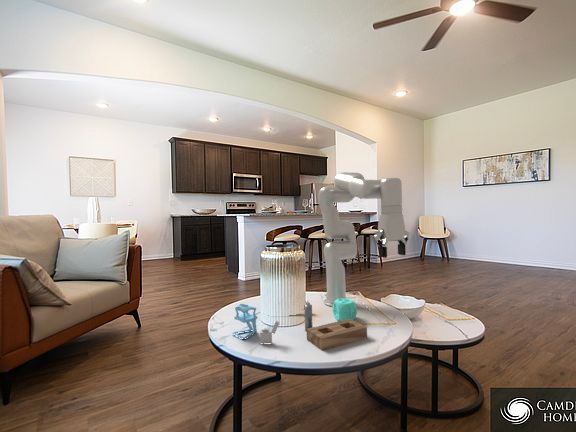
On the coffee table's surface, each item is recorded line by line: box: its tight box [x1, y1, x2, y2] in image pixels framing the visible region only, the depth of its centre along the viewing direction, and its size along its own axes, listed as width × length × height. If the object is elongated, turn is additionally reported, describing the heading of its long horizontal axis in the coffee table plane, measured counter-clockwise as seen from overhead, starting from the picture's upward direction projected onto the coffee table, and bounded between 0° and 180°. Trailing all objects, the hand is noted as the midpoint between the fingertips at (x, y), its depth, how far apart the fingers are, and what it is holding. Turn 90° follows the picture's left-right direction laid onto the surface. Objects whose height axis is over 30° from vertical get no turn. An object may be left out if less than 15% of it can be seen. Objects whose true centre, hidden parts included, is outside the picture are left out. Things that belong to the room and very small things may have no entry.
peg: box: [303, 303, 313, 333], centre depth 119 cm, size 3×3×10 cm
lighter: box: [259, 320, 280, 344], centre depth 108 cm, size 7×2×8 cm, turn 87°
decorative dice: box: [332, 298, 358, 322], centre depth 131 cm, size 8×8×8 cm
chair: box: [231, 303, 258, 339], centre depth 117 cm, size 8×8×12 cm
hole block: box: [306, 319, 368, 351], centre depth 111 cm, size 10×20×4 cm, turn 117°
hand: (392, 256), depth 113 cm, fingers open, 9 cm apart
